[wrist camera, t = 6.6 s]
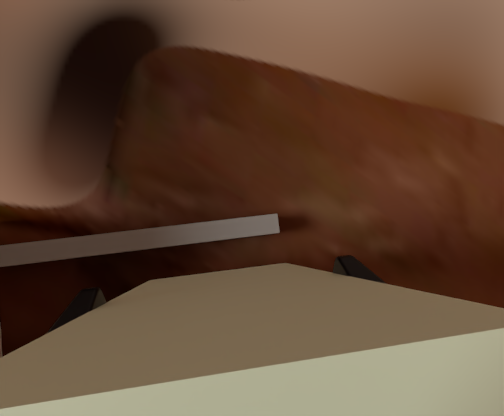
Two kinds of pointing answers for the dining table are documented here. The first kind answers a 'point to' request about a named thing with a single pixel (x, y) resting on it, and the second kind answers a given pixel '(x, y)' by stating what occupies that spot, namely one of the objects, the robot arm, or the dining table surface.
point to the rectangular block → (265, 351)
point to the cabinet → (135, 241)
